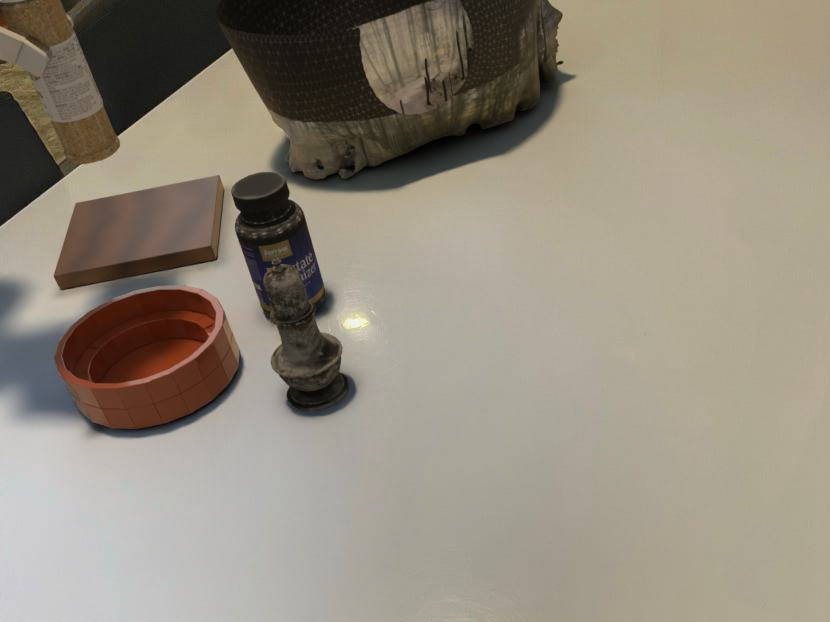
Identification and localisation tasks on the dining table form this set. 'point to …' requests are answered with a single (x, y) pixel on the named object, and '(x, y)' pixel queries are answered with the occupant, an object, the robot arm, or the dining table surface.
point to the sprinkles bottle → (65, 81)
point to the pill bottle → (274, 234)
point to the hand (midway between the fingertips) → (58, 49)
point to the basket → (388, 71)
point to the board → (141, 232)
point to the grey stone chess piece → (302, 343)
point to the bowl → (148, 356)
